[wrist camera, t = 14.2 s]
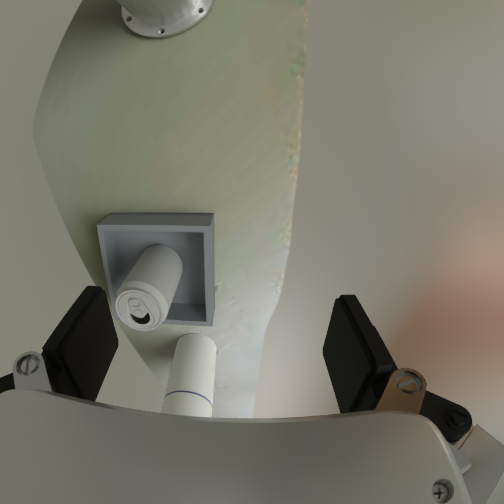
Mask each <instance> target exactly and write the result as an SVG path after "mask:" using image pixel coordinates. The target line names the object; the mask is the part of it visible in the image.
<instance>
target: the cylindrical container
mask: <svg viewBox="0 0 504 504" xmlns="http://www.w3.org/2000/svg"><path fill="white" fill-rule="evenodd" d="M216 351H217V350H216V345H215V343H214V342H213V341H212V340H211V339H210V338H208V337H206V336H204V335H201V334H195V333H192V334H186V335H184V336H182V337H181V338H180V339H179V340H178V342H177V345H176V349H175V353H174V357H173V362H172V366H171V370H170V375H169V379H168V384H167V388H166V393H165V398H164V402H163V407H162V412H161V413H166V414H175V415H185V416H197V417H212V403H213V389H214V375H215V363H216Z"/></svg>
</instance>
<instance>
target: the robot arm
mask: <svg viewBox="0 0 504 504" xmlns="http://www.w3.org/2000/svg"><path fill="white" fill-rule="evenodd" d="M115 1H116V2H118V3H119V4H120V5H121V6H122V8H121V13H122V18H123V20H124V22H125V24H126V25H127V26H128V27H129V29H131V30H132V31H133V32H135V33H137V34H139V35H141V36H144V37H148V38H166V37H170V36H175V35H177V34H180V33H183V32H185V31H187V30H189V29H190V28H192V27H193V26H195V25H196V24H198V23H199V22H200V21H201V20H202V19H203V18H204V17H205V16H206V15H207V13H208V12H209V11H210V9H211V7H212V5H213V3H214V0H115ZM201 11H202V13H200V12H201ZM131 19H132V20H131ZM130 20H131V21H130ZM163 31H165V32H164V33H162V32H163ZM161 33H162V34H161ZM117 348H118V338H117V334H116V331H115V327H114V323H113V320H112V316H111V312H110V308H109V304H108V300H107V296H106V292H105V291H104V290H102V288H101V287H100V286H87V287H86V288H85V289H84V291H83V292H82V293H81V295H80V296H79V297H78V298H77V300H76V301H75V303H74V304H73V305H72V306H71V308H70V309H69V310H68V312H67V313H66V315H65V316H64V317H63V319H62V320H61V321H60V323H59V324H58V326H57V327H56V329H55V330H54V331H53V333H52V334H51V336H50V337H49V339H48V340H47V342H46V343H45V345H44V346H43V348H42V349H43V352H42V354H39V353H37V352H33V351H31V352H26V353H24V354H21V355H20V356H19V357H18V358H17V359H16V360H15V362H14V365H13V373H11V374H8V375H6V376H4V377H1V378H0V504H485V503H486V501H487V499H488V498H489V496H490V495H491V493H492V491H493V490H494V488H495V486H496V485H497V483H498V481H499V479H500V477H501V476H502V474H503V472H504V445H503V444H502V443H500V442H499V441H498V440H496V439H495V438H494V437H493V436H491V435H490V434H489V433H488V432H486V431H485V430H484V429H482V428H481V427H480V426H479V425H476V426H475V427H474V426H473V425H472V418H471V415H470V413H469V412H468V411H467V410H466V409H465V408H464V407H462V406H460V405H458V404H455V403H453V402H451V401H449V400H447V399H444V398H442V397H440V396H438V395H435V394H433V393H431V392H429V391H426V387H427V383H426V380H425V379H424V377H423V376H422V375H421V374H420V373H419V372H417V371H416V370H414V369H410V368H400V369H398V368H397V366H396V365H395V362H394V361H393V359H392V357H391V355H390V353H389V351H388V349H387V348H386V346H385V344H384V342H383V340H382V338H381V337H380V335H379V333H378V331H377V330H376V328H375V327H374V326H373V325H372V323H371V322H370V320H369V318H368V316H367V315H366V313H365V311H364V310H363V308H362V306H361V304H360V303H359V301H358V299H357V297H356V296H355V295H341V296H340V297H339V298H337V299H336V300H335V303H334V307H333V311H332V315H331V320H330V323H329V327H328V331H327V335H326V338H325V342H324V346H323V356H324V360H325V363H326V366H327V369H328V372H329V376H330V379H331V382H332V385H333V389H334V392H335V396H336V399H337V402H338V406H339V409H340V413H341V414H332V415H320V416H306V417H290V418H259V419H258V418H255V419H254V418H213V417H197V416H185V415H175V414H166V413H157V412H150V411H143V410H136V409H130V408H124V407H119V406H113V405H108V404H103V403H99V402H95V400H96V398H97V395H98V393H99V390H100V388H101V385H102V383H103V380H104V378H105V376H106V373H107V371H108V368H109V366H110V364H111V362H112V359H113V357H114V355H115V352H116V350H117Z"/></svg>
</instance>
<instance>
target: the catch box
mask: <svg viewBox="0 0 504 504" xmlns="http://www.w3.org/2000/svg"><path fill="white" fill-rule="evenodd" d="M97 230H98V237H99V244H100V250H101V255H102V261H103V266H104V272H105V277H106V281H107V286H108V291H109V295H110V299H111V304H112V308H113V312H114V316H115V319H119V320H121V319H120V318H119V316H118V314H117V312H116V308H115V302H116V294H117V291H118V289H119V288H120V286H121V285H122V283H123V282H124V280H125V279H126V277H127V276H128V274H129V273H130V271H131V270H132V268H133V267H134V265H135V264H136V262H137V261H138V259H139V258H140V257H141V255H142V254H143V252H144V251H145V250H146V249H147V248H149V247H151V246H154V245H164V246H167V247H169V248H171V249H173V250H174V251H175V252H176V253H177V254H178V255H179V256H180V258H181V260H182V264H183V272H182V275H181V278H180V280H179V283H178V286H177V289H176V292H175V294H174V297H173V300H172V303H171V306H170V309H169V312H168V314H167V317H166V319H165V320H164V321H163V322H162V323H163V324H178V325H195V326H212V325H213V317H214V309H215V292H214V214H211V213H111V214H110V215H108V216H107V217H106V218H104V219H103V220H102V221H101V222H100V223H98V224H97Z"/></svg>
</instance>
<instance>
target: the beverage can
mask: <svg viewBox="0 0 504 504" xmlns="http://www.w3.org/2000/svg"><path fill="white" fill-rule="evenodd" d="M182 272H183V264H182V260H181V258H180V256H179V255H178V254H177V253H176V252H175V251H174V250H173V249H171V248H169V247H167V246H164V245H154V246H151V247H149V248H147V249H146V250H145V251H144V252H143V254H142V255H141V257H140V258H139V259H138V261H137V262H136V264H135V265H134V267H133V268H132V270H131V271H130V273H129V274H128V276H127V277H126V279H125V280H124V282H123V283H122V285H121V286H120V288H119V289H118V291H117V294H116V302H115V308H116V312H117V314H118V316H119V318H120V319H121V320H122V321H123V322H124V323H125V324H126V325H127V326H129V327H131V328H133V329H135V330H139V331H151V330H154V329H156V328H157V327H158V326H159V325H160V324H161V323H162V322H163V321H164V320H165V319H166V317H167V314H168V312H169V309H170V306H171V303H172V300H173V297H174V294H175V292H176V289H177V286H178V283H179V280H180V278H181V275H182Z"/></svg>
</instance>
